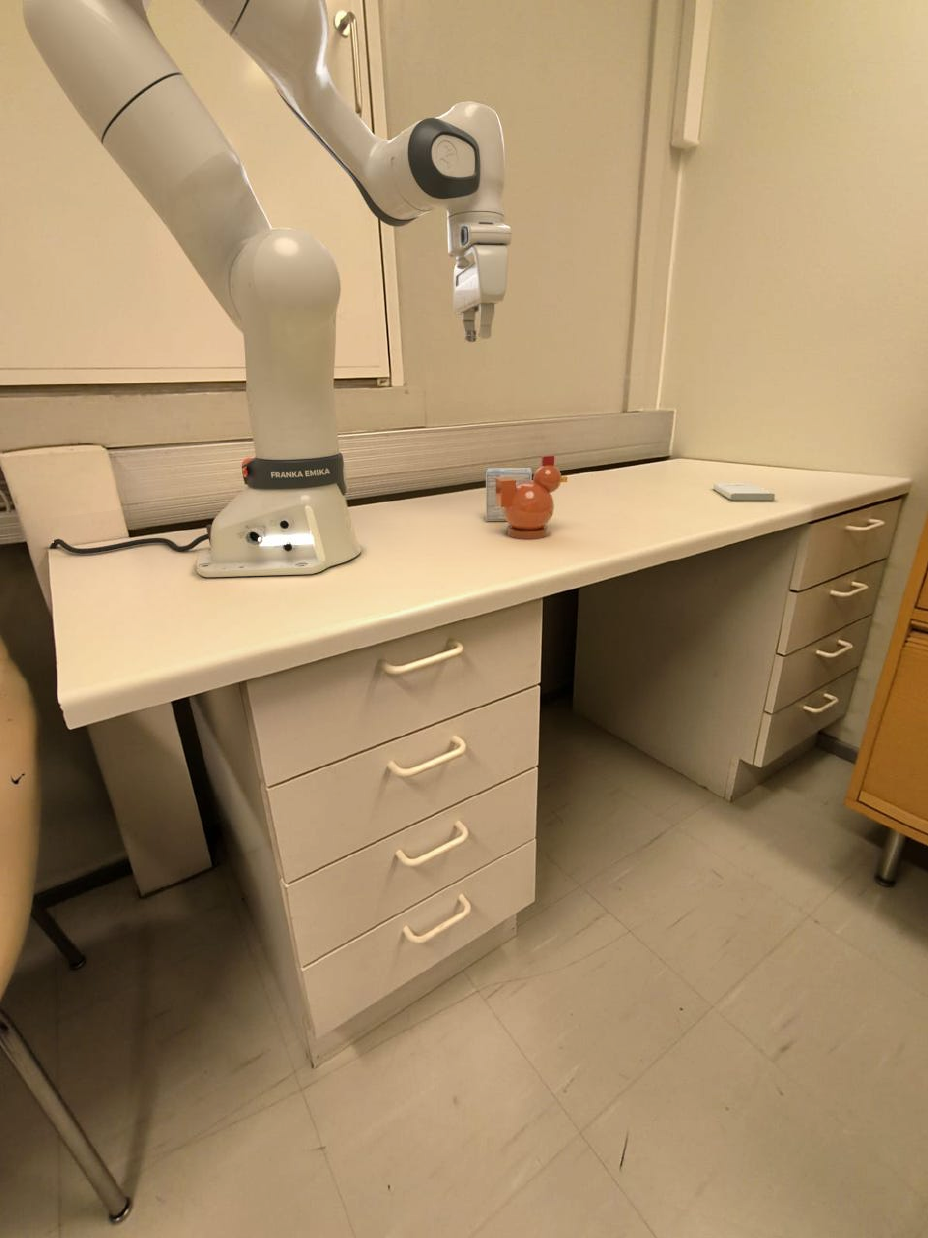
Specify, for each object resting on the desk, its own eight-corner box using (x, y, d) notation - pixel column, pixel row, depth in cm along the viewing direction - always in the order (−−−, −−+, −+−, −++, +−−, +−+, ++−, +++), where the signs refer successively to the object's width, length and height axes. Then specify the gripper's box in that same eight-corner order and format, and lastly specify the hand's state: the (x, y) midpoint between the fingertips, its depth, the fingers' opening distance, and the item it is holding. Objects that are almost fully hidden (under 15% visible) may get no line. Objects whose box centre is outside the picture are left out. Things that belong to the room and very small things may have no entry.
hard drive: (729, 501, 111) (712, 489, 122) (773, 501, 110) (752, 489, 121) (731, 493, 110) (713, 482, 122) (775, 493, 109) (754, 482, 120)
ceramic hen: (505, 542, 87) (506, 461, 82) (491, 530, 94) (491, 455, 89) (573, 536, 89) (577, 457, 84) (554, 525, 96) (557, 451, 91)
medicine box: (530, 516, 103) (531, 467, 99) (530, 521, 99) (532, 471, 95) (487, 516, 103) (487, 467, 100) (485, 521, 99) (485, 471, 96)
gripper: (443, 254, 96) (446, 344, 102) (472, 224, 78) (473, 336, 84) (478, 255, 98) (479, 343, 103) (515, 226, 79) (514, 335, 85)
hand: (477, 340), depth 93 cm, fingers open, 8 cm apart
